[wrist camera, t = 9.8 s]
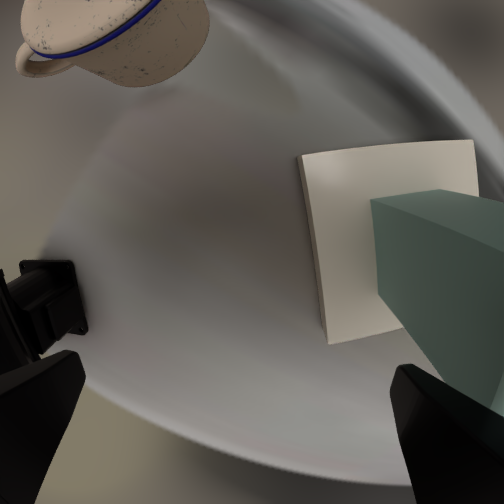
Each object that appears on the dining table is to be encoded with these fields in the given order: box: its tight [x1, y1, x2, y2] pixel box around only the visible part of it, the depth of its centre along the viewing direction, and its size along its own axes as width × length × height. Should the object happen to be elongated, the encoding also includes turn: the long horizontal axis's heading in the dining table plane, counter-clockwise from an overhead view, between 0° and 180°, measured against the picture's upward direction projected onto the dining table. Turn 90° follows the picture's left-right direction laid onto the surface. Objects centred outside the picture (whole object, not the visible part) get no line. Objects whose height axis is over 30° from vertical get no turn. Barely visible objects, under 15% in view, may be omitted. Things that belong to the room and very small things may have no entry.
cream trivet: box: [297, 140, 479, 345], centre depth 18 cm, size 12×12×2 cm
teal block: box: [370, 189, 504, 417], centre depth 11 cm, size 5×6×12 cm
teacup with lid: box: [16, 0, 209, 87], centre depth 11 cm, size 12×9×12 cm
